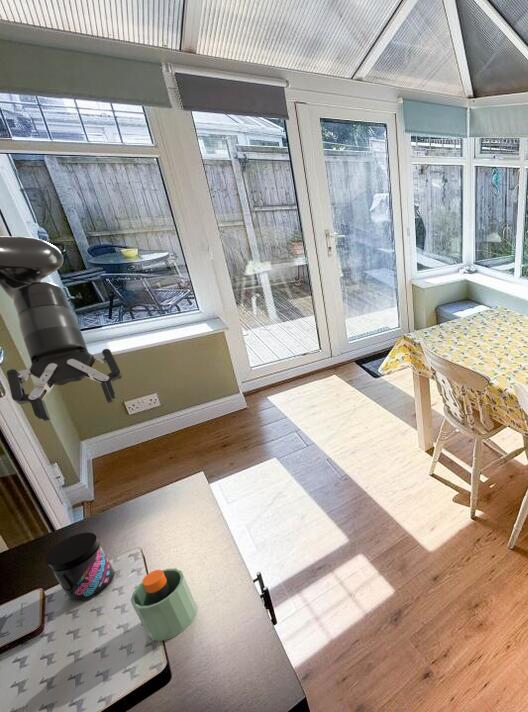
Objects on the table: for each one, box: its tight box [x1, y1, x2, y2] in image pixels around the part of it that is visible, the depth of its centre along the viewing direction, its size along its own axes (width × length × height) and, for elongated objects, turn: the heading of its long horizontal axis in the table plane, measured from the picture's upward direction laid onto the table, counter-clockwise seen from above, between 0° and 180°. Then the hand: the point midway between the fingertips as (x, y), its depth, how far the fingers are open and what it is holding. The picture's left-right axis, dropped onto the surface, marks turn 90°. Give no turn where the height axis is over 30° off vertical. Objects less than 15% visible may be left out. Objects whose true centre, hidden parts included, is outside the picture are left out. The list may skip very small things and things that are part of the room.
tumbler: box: [130, 567, 198, 642], centre depth 72 cm, size 7×7×9 cm
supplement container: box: [44, 532, 116, 602], centre depth 77 cm, size 7×7×10 cm
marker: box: [141, 569, 172, 604], centre depth 72 cm, size 3×3×11 cm
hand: (79, 410), depth 76 cm, fingers open, 8 cm apart
